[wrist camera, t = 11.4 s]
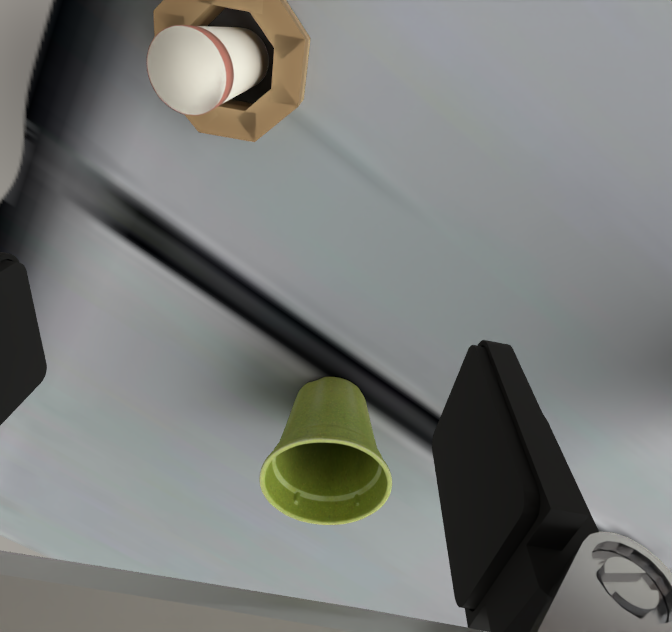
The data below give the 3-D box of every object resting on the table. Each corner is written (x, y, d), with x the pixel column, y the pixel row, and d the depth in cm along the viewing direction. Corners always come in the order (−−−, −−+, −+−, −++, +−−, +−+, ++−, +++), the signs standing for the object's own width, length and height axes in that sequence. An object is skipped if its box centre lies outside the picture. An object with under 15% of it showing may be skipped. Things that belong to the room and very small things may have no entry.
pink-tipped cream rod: (271, 32, 25) (227, 33, 16) (267, 92, 27) (225, 121, 18) (216, 22, 25) (143, 17, 16) (215, 83, 26) (149, 108, 18)
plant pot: (293, 345, 36) (277, 425, 29) (401, 377, 38) (413, 460, 30) (266, 424, 41) (246, 508, 34) (363, 449, 43) (364, 536, 35)
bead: (315, -10, 24) (310, -15, 21) (299, 138, 28) (293, 148, 25) (172, -38, 23) (150, -46, 21) (177, 116, 27) (158, 125, 25)
